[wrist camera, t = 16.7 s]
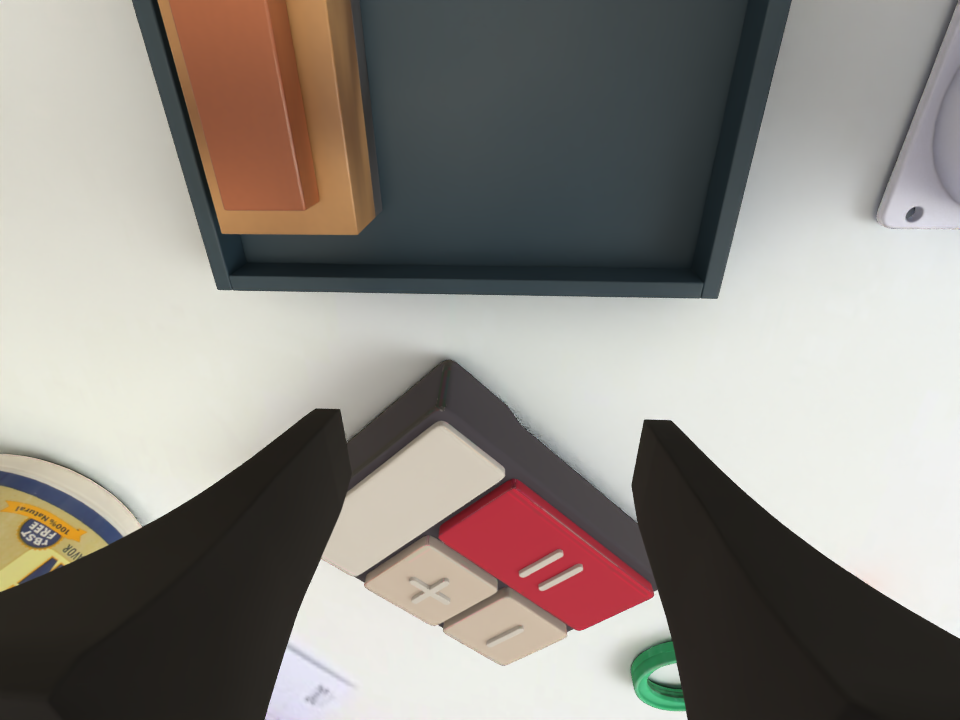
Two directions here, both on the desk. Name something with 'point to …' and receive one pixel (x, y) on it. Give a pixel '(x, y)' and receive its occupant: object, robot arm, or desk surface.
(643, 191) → the tray
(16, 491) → the supplement tub
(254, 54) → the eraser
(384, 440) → the calculator
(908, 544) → the desk surface
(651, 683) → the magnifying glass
